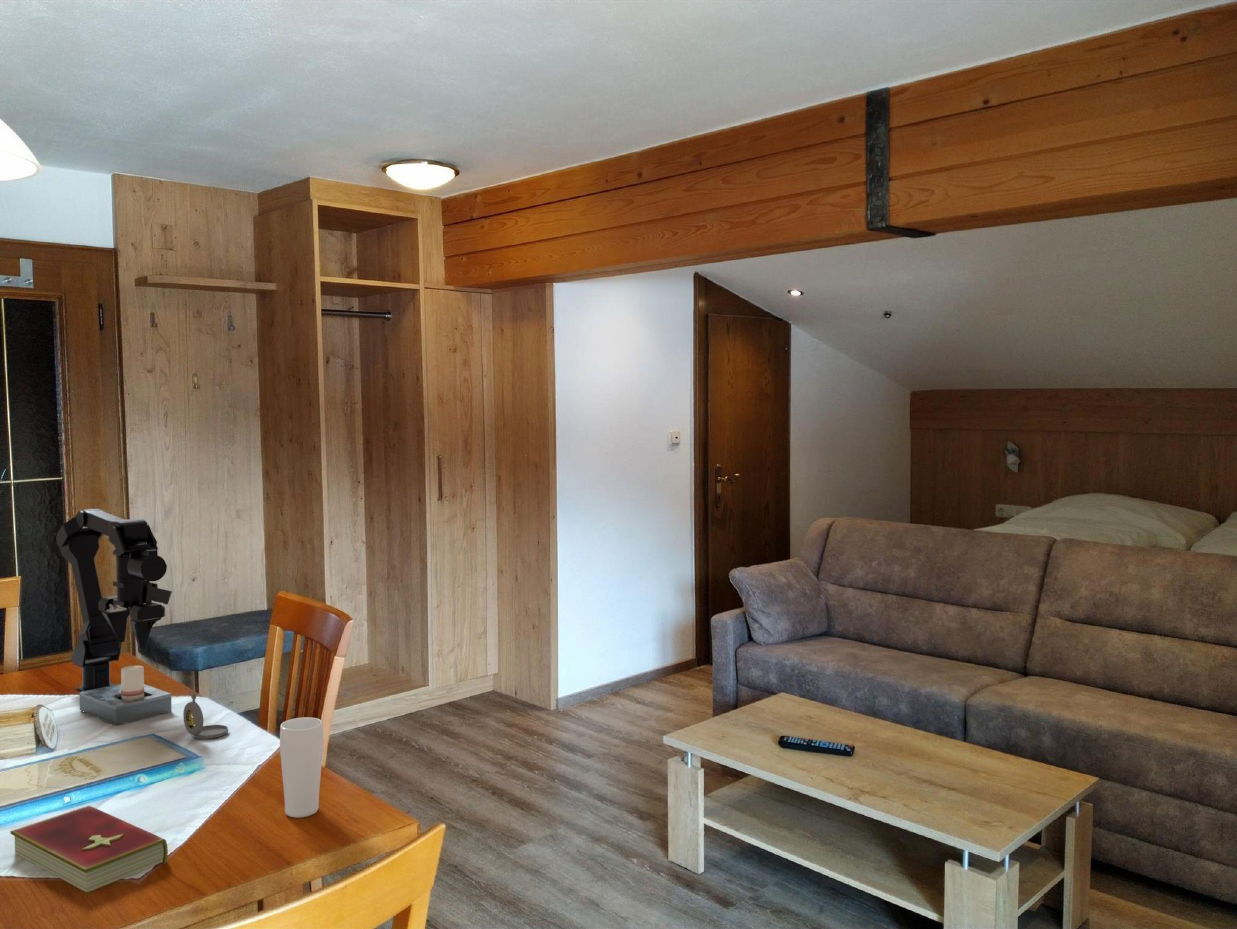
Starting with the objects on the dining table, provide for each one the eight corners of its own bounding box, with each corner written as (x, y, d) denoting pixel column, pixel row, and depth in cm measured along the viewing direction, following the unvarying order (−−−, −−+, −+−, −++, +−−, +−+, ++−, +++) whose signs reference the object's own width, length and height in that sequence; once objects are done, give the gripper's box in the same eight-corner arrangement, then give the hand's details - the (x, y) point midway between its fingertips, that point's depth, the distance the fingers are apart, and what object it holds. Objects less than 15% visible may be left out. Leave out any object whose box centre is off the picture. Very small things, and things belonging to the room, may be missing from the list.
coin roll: (116, 715, 208) (115, 669, 207) (133, 709, 212) (132, 664, 212) (132, 717, 206) (132, 671, 206) (149, 711, 211) (148, 666, 210)
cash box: (79, 710, 211) (79, 692, 211) (134, 697, 221) (134, 680, 220) (115, 725, 201) (115, 706, 201) (171, 711, 211) (171, 693, 211)
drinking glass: (311, 800, 165) (311, 714, 164) (330, 812, 160) (330, 723, 159) (273, 811, 160) (272, 722, 159) (291, 824, 155) (291, 733, 154)
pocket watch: (234, 730, 200) (233, 682, 199) (213, 744, 191) (212, 694, 191) (196, 728, 201) (195, 680, 200) (173, 742, 192) (173, 692, 192)
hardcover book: (92, 828, 154) (91, 802, 154) (167, 864, 142) (167, 836, 142) (10, 856, 144) (10, 829, 144) (85, 897, 132) (84, 867, 132)
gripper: (187, 576, 216) (188, 645, 217) (145, 567, 228) (146, 632, 228) (138, 583, 208) (139, 654, 208) (96, 573, 219) (97, 641, 220)
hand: (131, 645), depth 216 cm, fingers open, 9 cm apart
